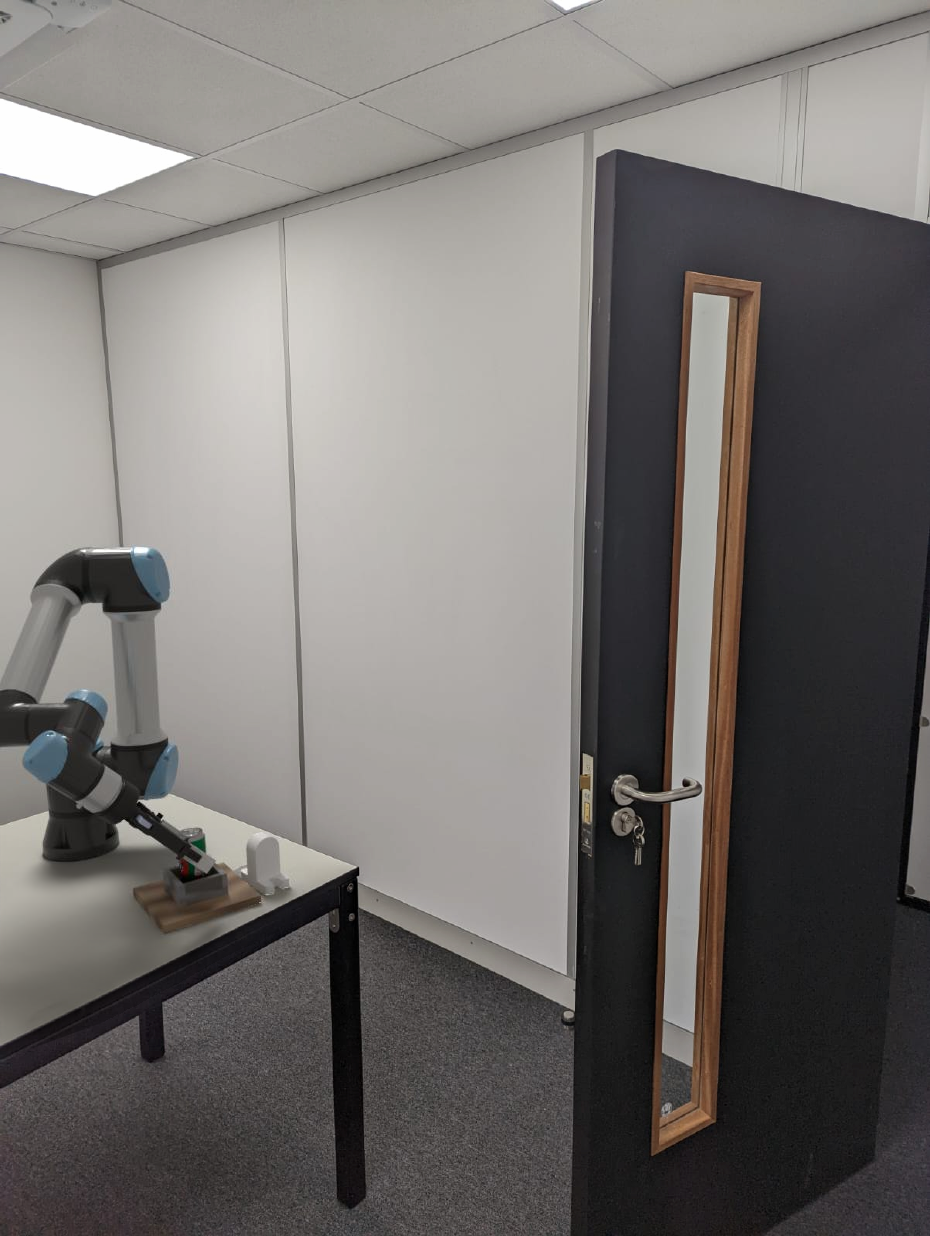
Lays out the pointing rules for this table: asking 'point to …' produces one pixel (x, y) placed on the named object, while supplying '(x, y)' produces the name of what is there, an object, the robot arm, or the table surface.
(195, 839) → the soda can
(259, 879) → the cable organizer
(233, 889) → the socket board
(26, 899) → the table surface
